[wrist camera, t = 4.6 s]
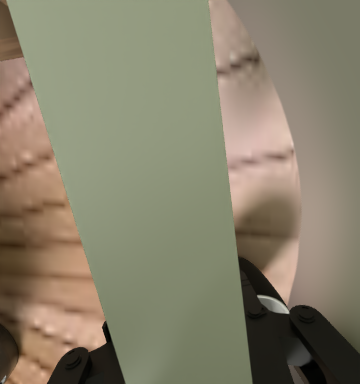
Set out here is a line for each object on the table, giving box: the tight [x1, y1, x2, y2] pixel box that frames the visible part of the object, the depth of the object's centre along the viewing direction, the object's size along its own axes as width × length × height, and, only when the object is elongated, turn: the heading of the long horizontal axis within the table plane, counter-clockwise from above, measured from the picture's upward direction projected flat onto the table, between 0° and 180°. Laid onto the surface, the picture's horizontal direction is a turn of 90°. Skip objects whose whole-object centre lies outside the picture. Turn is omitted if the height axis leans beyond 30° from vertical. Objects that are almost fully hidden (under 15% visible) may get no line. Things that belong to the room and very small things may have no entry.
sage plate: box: [6, 0, 252, 384], centre depth 11 cm, size 3×20×12 cm, turn 9°
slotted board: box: [0, 0, 24, 61], centre depth 22 cm, size 20×3×12 cm, turn 100°
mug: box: [238, 257, 289, 314], centre depth 32 cm, size 12×9×10 cm
